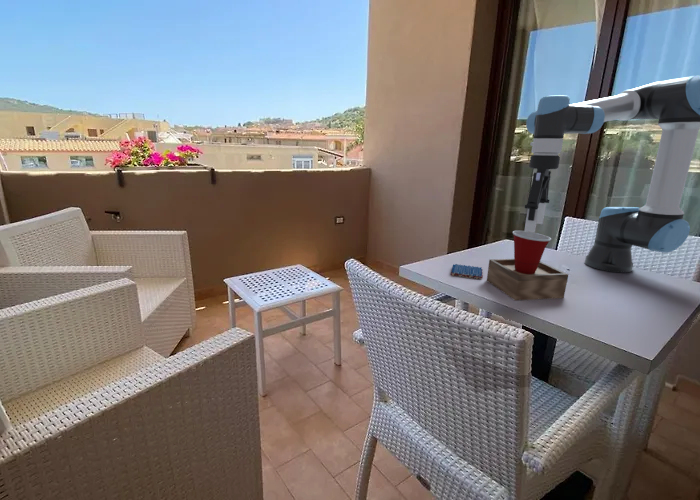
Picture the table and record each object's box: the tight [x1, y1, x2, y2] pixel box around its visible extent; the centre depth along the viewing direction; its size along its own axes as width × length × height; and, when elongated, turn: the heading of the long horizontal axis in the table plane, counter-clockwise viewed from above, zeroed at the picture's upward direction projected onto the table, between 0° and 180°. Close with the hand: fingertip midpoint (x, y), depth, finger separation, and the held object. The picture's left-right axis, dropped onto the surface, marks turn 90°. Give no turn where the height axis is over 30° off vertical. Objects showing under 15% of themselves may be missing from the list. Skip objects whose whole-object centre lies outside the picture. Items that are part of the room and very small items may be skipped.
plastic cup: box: [512, 230, 552, 274], centre depth 111 cm, size 11×11×12 cm
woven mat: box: [450, 263, 484, 280], centre depth 128 cm, size 10×11×2 cm
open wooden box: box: [486, 258, 569, 301], centre depth 114 cm, size 16×16×8 cm
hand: (534, 227), depth 110 cm, fingers open, 13 cm apart
